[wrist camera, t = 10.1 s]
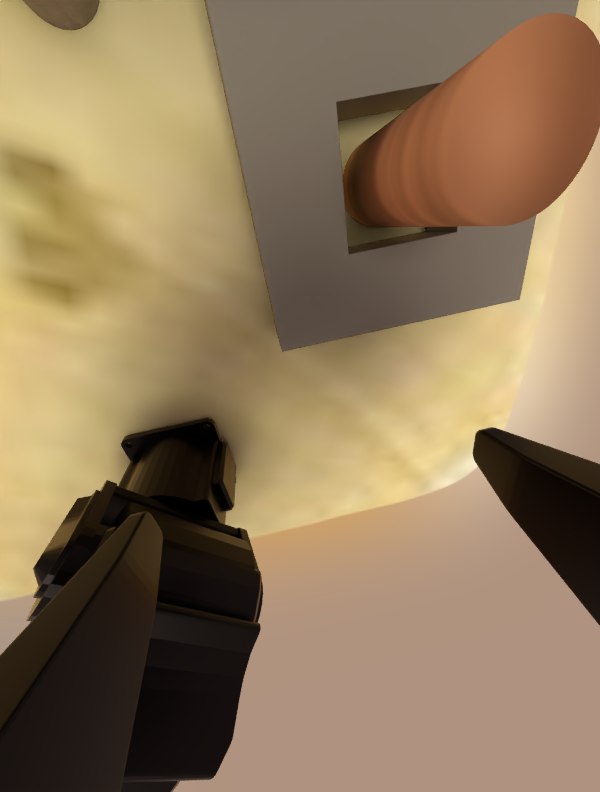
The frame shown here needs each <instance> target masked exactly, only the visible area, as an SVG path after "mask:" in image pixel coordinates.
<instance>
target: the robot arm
mask: <svg viewBox="0 0 600 792" xmlns="http://www.w3.org/2000/svg"><path fill="white" fill-rule="evenodd" d="M205 424H208V425H210V427H206V426H205ZM127 442H130V443H132V444H128V443H127ZM121 446H122V448H123V449H124V451H125V453H126V454H127V456H128V457H129V459H130V461H131V462H130V464H129V466H128V468H127V470H126V472H125V474H124V476H123V478H122V480H121V482H120V484H119V486H117V484H116V483H114V482H111V481H108V480H107V481H106V482H105V484H104V485H103V487H102V488H101V490H100V491H98V490H96V491H95V493H94V494H93V495H92V496H88V497H83V498H78V499H77V500H76V502H75V503H74V505H73V507H72V508H71V510H70V511H69V513H68V515H67V516H66V518H65V519H64V521H63V522H62V524H61V526H60V527H59V529H58V530H57V532H56V534H55V535H54V537H53V538H52V540H51V541H50V543H49V544H48V546H47V548H46V549H45V551H44V552H43V554H42V555H41V557H40V559H39V560H38V562H37V563H36V565H35V567H34V568H33V570H34V573H35V577H36V580H37V583H38V588H37V590H36V592H35V594H34V598H37V599H36V601H35V603H34V605H33V608H32V609H31V612H30V614H29V616H28V618H27V621H32V622H31V623H30V624H29V625H28V626H27V627H26V628H25V629H24V630H23V631H22V632H21V634H20V635H19V636H18V637H17V638H16V639H15V640H14V641H13V642H12V643H11V644H10V645H9V646H8V648H7V649H6V650H5V651H4V652H3V653H2V654H1V655H0V792H172V791H173V790H174V789H175V787H176V786H177V784H178V783H179V782H180V781H185V780H209V779H212V778H213V777H214V776H215V775H216V773H217V771H218V769H219V767H220V765H221V763H222V761H223V759H224V756H225V754H226V752H227V750H228V748H229V746H230V744H231V741H232V738H233V733H234V727H235V721H236V715H237V710H238V703H239V697H240V692H241V687H242V682H243V678H244V674H245V671H246V667H247V664H248V661H249V657H250V654H251V651H252V649H253V647H254V644H255V642H256V640H257V637H258V635H259V632H260V624H259V623H258V619H259V616H260V612H261V606H262V597H263V585H262V579H261V578H262V577H261V573H260V571H259V569H258V566H257V563H256V559H255V556H254V553H253V550H252V546H251V543H250V540H249V537H248V534H247V531H246V530H245V529H242V528H234V527H231V526H228V525H225V518H226V511H229V510H232V508H233V507H234V497H235V483H236V465H235V463H234V460H233V457H232V455H231V452H230V450H229V447H228V444H227V443H226V442H224V441H223V442H222V440H221V438H220V435H219V432H218V430H217V427H216V425H215V422H214V421H213V420H212V419H209V418H205V419H200V420H196V421H192V422H187V423H183V424H178V425H174V426H170V427H165V428H161V429H156V430H152V431H148V432H143V433H139V434H134V435H130V436H127V437H125V438H124V439H123V441H122V443H121ZM473 457H474V460H475V462H476V464H477V465H478V467H479V468H480V470H481V471H482V472H483V474H484V476H485V477H486V478H487V480H488V482H489V483H490V485H491V486H492V488H493V489H494V491H495V493H496V494H497V496H498V497H499V499H500V500H501V502H502V503H503V505H504V506H505V508H506V509H507V510H508V512H509V513H510V514H511V516H512V517H513V518H514V519H515V521H516V522H517V523H518V524H519V526H520V527H521V528H522V529H523V531H524V532H525V533H526V534H527V536H528V537H529V538H530V539H531V541H532V542H533V543H534V544H535V546H536V547H537V548H538V549H539V551H540V552H541V553H542V554H543V556H544V557H545V558H546V559H547V560H548V562H549V563H550V564H551V565H552V567H553V568H554V569H555V570H556V572H557V573H558V574H559V575H560V577H561V578H562V579H563V580H564V582H565V583H566V584H567V585H568V587H569V588H570V589H571V590H572V591H573V593H574V594H575V595H576V597H577V598H578V599H579V600H580V602H581V603H582V604H583V605H584V607H585V608H586V609H587V610H588V612H589V613H590V614H591V615H592V616H593V618H594V619H595V620H596V622H597V623H598V624H599V625H600V464H598V463H595V462H592V461H589V460H586V459H583V458H581V457H578V456H575V455H571V454H569V453H566V452H563V451H560V450H558V449H554V448H552V447H549V446H546V445H543V444H540V443H537V442H534V441H532V440H528V439H526V438H523V437H520V436H517V435H514V434H511V433H509V432H506V431H503V430H500V429H497V428H493V427H491V428H486V429H482V430H479V431H477V433H476V435H475V442H474V448H473Z"/></svg>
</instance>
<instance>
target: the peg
mask: <svg viewBox="0 0 600 792" xmlns="http://www.w3.org/2000/svg"><path fill="white" fill-rule="evenodd" d="M599 127H600V44H599V41H598V40H597V38H596V36H595V35H594V33H593V32H592V31H591V29H590V28H589V27H588V26H587V25H586V24H585V23H583V22H582V21H580V20H579V19H578V18H575V17H573V16H570V15H568V14H561V13H551V14H544V15H540V16H537V17H534V18H531V19H529V20H527V21H525V22H523V23H521V24H520V25H518V26H517V27H515V28H514V29H512V30H511V31H509V32H508V33H507V34H506V35H504V36H503V37H502V38H500V39H499V40H498V41H496V42H495V43H494V44H492V45H491V46H490V47H488V48H487V49H486V50H484V51H483V52H482V53H480V54H479V55H478V56H476V57H475V58H474V59H473V60H471V61H470V62H469V63H467V64H466V65H465V66H463V67H462V68H461V69H459V70H458V71H457V72H455V73H454V74H453V75H451V76H450V77H449V78H447V79H446V80H445V81H443V82H442V83H441V84H440V85H438V86H437V87H436V88H434V89H433V90H432V91H430V92H429V93H428V94H426V95H425V96H424V97H422V98H421V99H420V100H418V101H417V102H416V103H414V104H413V105H412V106H410V107H409V108H408V109H407V110H405V111H404V112H403V113H401V114H400V115H399V116H397V117H396V118H395V119H393V120H392V121H391V122H389V123H388V124H387V125H385V126H384V127H383V128H381V129H380V130H379V131H378V132H376V133H375V134H374V135H372V136H371V137H370V138H368V139H367V140H366V141H364V142H363V143H362V144H361V145H359V146H358V147H357V148H356V150H355V151H354V152H353V153H352V155H351V156H350V158H349V160H348V162H347V164H346V167H345V170H344V173H343V179H342V180H343V192H344V203H345V206H346V208H347V210H348V212H349V213H350V215H351V216H352V217H353V218H354V219H355V220H356V221H357V222H359V223H360V224H362V225H365V226H369V227H445V226H507V225H513V224H517V223H520V222H523V221H525V220H527V219H530V218H532V217H533V216H535V215H537V214H538V213H540V212H541V211H543V210H544V209H545V208H547V207H548V206H549V205H550V204H552V203H553V202H554V201H555V200H556V199H557V198H558V197H559V196H560V195H561V194H562V193H563V192H564V191H565V189H566V188H567V187H568V186H569V185H570V183H571V182H572V181H573V179H574V178H575V176H576V175H577V174H578V172H579V171H580V169H581V167H582V166H583V164H584V162H585V160H586V158H587V157H588V155H589V152H590V150H591V148H592V146H593V144H594V141H595V138H596V136H597V133H598V130H599Z"/></svg>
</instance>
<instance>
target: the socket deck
mask: <svg viewBox="0 0 600 792" xmlns="http://www.w3.org/2000/svg"><path fill="white" fill-rule="evenodd" d="M578 1H579V0H205V4H206V9H207V14H208V18H209V23H210V27H211V32H212V37H213V41H214V46H215V50H216V55H217V59H218V64H219V69H220V73H221V78H222V82H223V87H224V91H225V96H226V101H227V105H228V110H229V114H230V119H231V124H232V128H233V133H234V137H235V142H236V146H237V151H238V156H239V160H240V165H241V169H242V174H243V179H244V183H245V188H246V192H247V197H248V201H249V206H250V211H251V215H252V220H253V224H254V229H255V233H256V238H257V243H258V247H259V252H260V256H261V261H262V266H263V270H264V275H265V279H266V284H267V288H268V293H269V298H270V302H271V307H272V311H273V316H274V320H275V325H276V330H277V334H278V338H279V342H280V345H281V349H282V352H283V351H287V350H292V349H296V348H301V347H306V346H310V345H315V344H319V343H324V342H328V341H333V340H337V339H342V338H346V337H351V336H356V335H360V334H365V333H369V332H374V331H378V330H383V329H387V328H392V327H397V326H401V325H406V324H410V323H415V322H419V321H424V320H428V319H433V318H438V317H442V316H447V315H451V314H456V313H460V312H465V311H469V310H474V309H478V308H483V307H488V306H492V305H497V304H501V303H506V302H510V301H515V300H519V299H520V295H521V290H522V285H523V280H524V275H525V270H526V265H527V260H528V254H529V249H530V244H531V239H532V234H533V229H534V224H535V219H536V215H535V216H533V217H532V218H530V219H527V220H525V221H523V222H520V223H517V224H513V225H507V226H445V227H427V228H426V232H421V233H416V234H411V235H406V236H402V237H397V238H392V239H387V240H382V241H377V242H373V243H368V244H363V245H358V246H353V247H348V241H347V229H346V216H345V204H344V192H343V180H342V167H341V155H340V143H339V130H338V121H340V120H346V119H351V118H356V117H362V116H367V115H372V114H378V113H383V112H388V111H394V110H399V109H404V108H409V107H410V106H412V105H413V104H414V103H416V102H417V101H418V100H420V99H421V98H422V97H424V96H425V95H426V94H428V93H429V92H430V91H432V90H433V89H434V88H436V87H437V86H438V85H440V84H441V83H442V82H443V81H445V80H446V79H447V78H449V77H450V76H451V75H453V74H454V73H455V72H457V71H458V70H459V69H461V68H462V67H463V66H465V65H466V64H467V63H469V62H470V61H471V60H473V59H474V58H475V57H476V56H478V55H479V54H480V53H482V52H483V51H484V50H486V49H487V48H488V47H490V46H491V45H492V44H494V43H495V42H496V41H498V40H499V39H500V38H502V37H503V36H504V35H506V34H507V33H508V32H509V31H511V30H512V29H514V28H515V27H517V26H518V25H520V24H521V23H523V22H525V21H527V20H529V19H531V18H534V17H537V16H540V15H544V14H551V13H561V14H568V15H570V16H573V17H575V16H576V11H577V6H578Z"/></svg>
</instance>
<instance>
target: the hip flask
mask: <svg viewBox="0 0 600 792" xmlns="http://www.w3.org/2000/svg"><path fill="white" fill-rule="evenodd" d="M23 1H24V2H25V3H26V4H27V5H28V6H29V7H30V8H31V9H32V10H33V11H34V12H35V13H36V14H37V15H38V16H40V17H41V18H42V19H43V20H45V21H46V22H48V23H50V24H52V25H53V26H56V27H58V28H61V29H67V30H74V29H80V28H82V27H83V26H85V25H87V24H88V23H89V22H90V21H91V20H92V19H93V17H94V15H95V13H96V11H97V8H98V4H99V0H23Z"/></svg>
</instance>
